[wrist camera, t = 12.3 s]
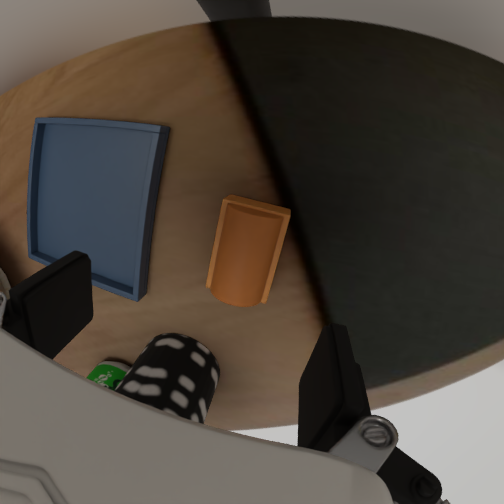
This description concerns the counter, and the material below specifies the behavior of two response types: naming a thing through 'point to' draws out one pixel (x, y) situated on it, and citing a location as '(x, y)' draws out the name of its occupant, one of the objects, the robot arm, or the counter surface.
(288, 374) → the counter surface
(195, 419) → the white-spotted black cylinder
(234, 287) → the orange hollowed block
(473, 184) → the counter surface
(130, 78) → the counter surface
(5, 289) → the bowl
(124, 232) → the tray
